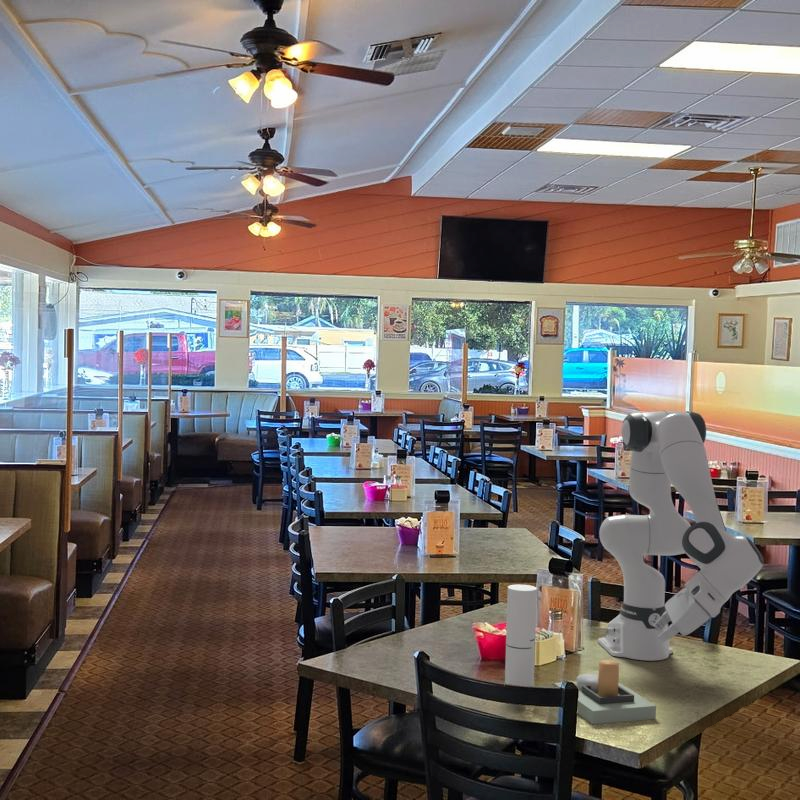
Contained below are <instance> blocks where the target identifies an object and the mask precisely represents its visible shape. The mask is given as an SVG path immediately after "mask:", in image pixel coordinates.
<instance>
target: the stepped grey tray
mask: <svg viewBox="0 0 800 800" xmlns="http://www.w3.org/2000/svg"><path fill="white" fill-rule="evenodd" d="M562 682H563V681H562ZM562 682H554V683H553V688H554V687H561V684H562ZM572 682H573V683H575V684H576V685H577V686H578V688H579V698H578V713H577V714H578V715H580V717H582V718H583V719H584V720H586V721H587V722H588V723H590V724H592V725H601V724H612V723H613V724H614V723H625V722H637V721H645V720H646V721H647V720H657V718H656V717H657V705H655V704H654V703H652V702H651V701H649V700H648V699H646V698H644V697H643V696H642V695H640V694H638V693H636V692H635V691H633V690H632V689H630V688H629V687H627V686H626V685H624V684H622V683H621V682H619V681H618V696H607V697H600V696H599V695H598V674H597V673H583V674H582V673H581V674H579V675H578V676H576V681H572Z"/></svg>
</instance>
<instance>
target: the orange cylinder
mask: <svg viewBox="0 0 800 800" xmlns="http://www.w3.org/2000/svg"><path fill="white" fill-rule="evenodd" d="M619 673H620V662H618V661H616V660H612V659H601V660H599V661H598V674H597V675H598V695H599V696H600V697H607V696H618V682H619V681H620V680H619Z"/></svg>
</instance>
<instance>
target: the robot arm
mask: <svg viewBox="0 0 800 800" xmlns="http://www.w3.org/2000/svg"><path fill="white" fill-rule="evenodd" d="M620 433H621V437H622V438H621V439H622V442H623V444H624V446H625V447H626V449H627V450H629V451H631V456H630V465H629V466H630V468H629V481H628V483H629V484H628V492H629V495H630V497H631V498H632V499H633V500H634V501H635V502H637V503H638V504H640V505H642V506H644V507H646V508H647V509H649V514H645V515H641V514H640V515H639V514H618V515H617V514H616V515H612V516H607V517H606V518H605V519H604V520H603V521H602V522H601V525H600V527H599V534H598V535H599V540H600V543H601V545H602V547H603V548H604V549H605V550H606V551H607V552H608V553H609V554H610V555H612V556H613V557H614V559H615V560H616V561H617V563H618V565H619V567H620V569H621V572H622V577H623V601H619V603H621V604H619V606H620V610H619V614H618V615H617V616H616V617H614V618H613V619H612V620H610V621H609V622H608V624H607V626H606V629H605V633H606V636H603V637H599V638H598V639H597V643H598V644H600V646H601V647H603V648H604V649H605V650H606V652H608V653H609V654H610V655H611V656H612V657H613V656H614V657H619V658H627V659H631V660H637V661H638V660H639V661H662V660H665V659H668V658H669V656H670V654H672V653H673V651H674V650H673V648H672V647H670V639H671V638H672V637H674V636H677V635H678V634H679V633H680V635H682V636H683V637H685V636H688V635H690V634H691V633H693V632H695V631H696V630H697V629H699V628H700V627H701V626H702V625H704V624H705V623H706V622H708V621H709V619H710V617H711V618H713V619H714V618H716V617H717V616H718V615H719V614H720V613H721V608H722V607H723V605H724V604H726V602H727V601H729V599H730V598H731V596H732V595H733V594H734V593H735V592H737V591H739V590H741V589H743V588H744V586H746V585H747V584H748V583H750V581H752V580H753V578H754V577H756V575H757V574H758V573H759V572H760V571H761V569H762V568H763V566H764V564H765V563H764V561H765V560H764V557H763V554H762V553H761V551H760V550H759V548H758V547H757V546H756V545H755V543H754V542H753V541H752V540H751V538H749V537H747V536H745V535H736V534H734V533H732V532H731V533H730V532H727V529H726V526H725V522H724V520H723V517H722V514H721V513H722V512H721V510H720V507H719V503H718V501H717V498H716V494H715V489H714V484H713V481H712V476H711V470H710V464H709V460H708V456H707V451H706V448H705V445H704V444H705V441H706V439H707V438H706V437H707V426H706V421H705V419H704V418H703V416H702V415H701V414H700V413H698V412H695V411H690V410H689V411H688V410H686V411H679V410H659V411H658V410H657V411H648V412H647V411H646V412H641V411H636V412H632V413H629V414H627V416H625V418H624V420H623V422H622V425H621V432H620ZM671 485H672V486H671ZM671 487H674V489H675V491H677V493H679V495H680V496H681V498H683V500H684V501H685V502H686V504H687V505H688V507H689V508H690V510H691V512H692V514H693V517H694V520H695V523H693V524H692V525H691V523H690V522H689V521H688V519H686V518H684V517H683V516H682V515H681V514H680V513H679V511H678V510H677V509H676V507H675V505H674V501H673V499H672V490H671V489H672V488H671ZM682 554H683V555H684V554H685V555H687V557H688V558H690V559H691V561H692V562H693V563H694V564H695V565H696V566H697V567H698V568H699V569H700V570H699V571H697V572H696V574H694V575H693V576H692V577H691V578H690V579H688V580H687V581H686V582H685V583H684V586H685V587H684V588H682V589H681V590H680V591H678V592H677V593H676V594H674V595H673V596H672V597H671V598H669V599H668V600H667V601H666V602H665V600H666V599H665V598H666V597H665V595H666V594H665V592H666V580H665V577H664V575H663V574H662V573H661V572H660V571H659V570H657V569H656V568H655V567H653V566H650V565H649V564H646V563H645V561H644V556H665V557H666V556H669V557H670V556H677V555H682ZM670 622H671V624H669V623H670Z"/></svg>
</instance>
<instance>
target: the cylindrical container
mask: <svg viewBox="0 0 800 800" xmlns="http://www.w3.org/2000/svg"><path fill="white" fill-rule="evenodd" d="M537 590H538V588H537V587H536V586H533V585H531V584H530V585H529V584H520V583H519V584H511V585H508V586H507V597H506V598H507V600H506V627H505V628H506V634H505V635H506V636H505V663H504V664H505V666H504V667H505V669H504V684H505V683H506V684H512V685H520V686H534V687H535V662H536V661H535V659H536V657H535V655H536V627H537V622H536V621H537V596H538V595H537V593H538V591H537Z"/></svg>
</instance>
